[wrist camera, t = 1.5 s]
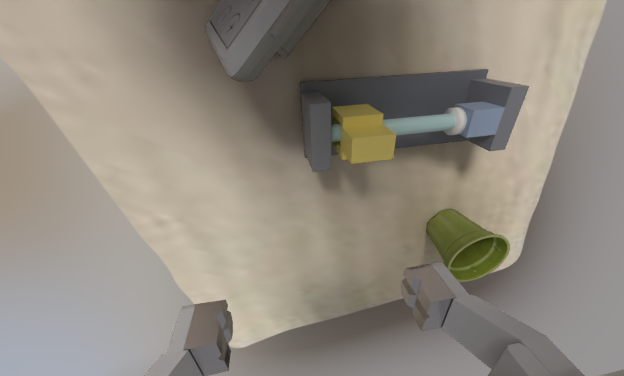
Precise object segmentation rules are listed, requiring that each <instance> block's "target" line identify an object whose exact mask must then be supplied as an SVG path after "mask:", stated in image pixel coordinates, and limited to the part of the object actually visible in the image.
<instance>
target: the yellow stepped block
mask: <svg viewBox="0 0 624 376" xmlns="http://www.w3.org/2000/svg"><path fill="white" fill-rule="evenodd" d="M383 115H384V114H383V113H381V112H380V111H378V110H376V109H375V108H373V107H372V106H370V105H368V104H360V105H348V106H336V107H332V125H333V124H341V134H340V141H337V142H332V146H333V147H334V149H335V150H336V152H337V153H338V155H339V156H340V158H341V159H342V160H349V161H350V163H351V164H355V163H364V162H372V161H381V160H390V159H393V155H394V148H395V141H396V133H394V132H393V131H391V130H390V129H389V128H387V127H386V126H384V125H383Z"/></svg>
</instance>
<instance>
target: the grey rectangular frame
mask: <svg viewBox="0 0 624 376" xmlns="http://www.w3.org/2000/svg"><path fill="white" fill-rule="evenodd" d="M487 73H488V69H479V70H465V71H451V72H437V73H423V74H409V75H396V76H382V77H368V78H354V79H340V80H326V81H312V82H300V90H301V106H302V122H303V138H304V154H305V158H308V160H309V163H310V166H311V168H312V171H313V172H316V171H324V170H331V155H338V153H337V152H336V150H335V149H334V147H333V146H332V142H337V141H340V134H341V124H333V125H332V107H336V106H348V105H360V104H368V105H370V106H372V107H373V108H375V109H376V110H378V111H380V112H381V113H383V114H384V115H383V125H384V126H386V127H387V128H389V129H390V130H391V131H393V132H394V133H396V141H395V148H402V147H411V146H420V145H429V144H438V143H447V142H457V141H466V140H468V141H470V142H472V143H474V144H476V145H478V146H480V147H482V148H484V149H486V150H488V151H495V150H504V149H505V147H506V145H507V142H508V140H509V137H510V134H511V132H512V129H513V127H514V124H515V122H516V119H517V116H518V114H519V111H520V109H521V106H522V103H523V101H524V98H525V96H526V93H527V90H528V88H529V86H526V85H520V84H514V83H509V82H503V81H497V80H491V79H486V76H487Z"/></svg>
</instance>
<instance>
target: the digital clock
mask: <svg viewBox="0 0 624 376" xmlns="http://www.w3.org/2000/svg"><path fill="white" fill-rule="evenodd" d="M329 2H330V0H221V1H220V3H219V4H218V6H217V7H216V9H215V11H214V12H213V14H212V15H211V17H210V18H209V20H208V22H207V24H206V32H207V35H208V38H209V40H210V43H211V45H212V47H213V48H214V50H215V52H216V54H217V56H218V58H219V60H220V62H221V64H222V66H223V68H224V70H225V72H226V73H227V75H228V76H229V77H231V78H232V79H234V80H236V81H239V82H247V81H252V80H254V79H255V78H256V77H257V76H258V75H259V74H260V72H261V71H262V70H263V69H264V67H265V66H266V65H267V63H268V62H269V61H270V60H271V58H272V57H273V56H274V54H275V53H276V52H277V53H278V54H279V55H280V56H281V57H282V58H283V59H285V58H286V57H287V56H288V54H289V53H290V52H291V50H292V49H293V48H294V46H295V45H296V44H297V43H298V41H299V40H300V39H301V37H302V36H303V35H304V34H305V32H306V31H307V30H308V28H309V27H310V26H311V25H312V23H313V22H314V21H315V20H316V18H317V17H318V16H319V14H320V13H321V12H322V11H323V9H324V8H325V7H326V5H327V4H328V3H329Z"/></svg>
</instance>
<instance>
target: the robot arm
mask: <svg viewBox="0 0 624 376" xmlns="http://www.w3.org/2000/svg"><path fill="white" fill-rule="evenodd" d="M403 275H404V276H405V279H404V280H403V281H402V283H401V291H402V295H403V298H404V300H405V302H406V304H407V305H408V306H410V307H411V308H412V309H413V317H414V318H415V320H416V322H417V324H418V326H419V327H420V329H421V331H424V330H429V329H435V328H441V327H442V329H443V330H444V331H445V332H447V333H448V334H449V335H450V336H451V337H453V338H454V339H455V340H456V341H457V342H459V343H460V344H461V345H463V346H464V347H465V348H466V349H467V350H469V351H470V352H471V353H472V354H474V355H475V356H476V357H477V358H478V359H480V360H481V361H482V362H483V363H484V364H486V365H487V366H488V367H490V368H491V369H492V370H491V372H490V373H489V375H488V376H584V375H583V374H582V373H581V372H580V371H579V369H577V367H576V366H575V365H574V364H573V363H572V362H571V361H570V360H569V359H568V358H567V357H566V356H565V355H564V354H563V353H562V352H561V351H560V350H559V349H558V348H557V347H556V346H555V345H554V344H553V342H552V341H551V340H550V339H549V338H548V337H547V336H546V335H544V334H542V333H540V332H538V331H537V330H535V329H533V328H531V327H529V326H528V325H526V324H524V323H522V322H521V321H519V320H517V319H515V318H513V317H512V316H510V315H508V314H506V313H505V312H503V311H501V310H499V309H497V308H496V307H494V306H492V305H490V304H488V303H487V302H485V301H483V300H481V299H480V298H478V297H476V296H474V295H469V294H468V293H467V292H466V291H465V289H464V288H463V287H462V286H461V284H460V283H459V282H458V281H457V279H456V278H455V277H454V276H453V275H452V273H451V272H450V271H449V270H448V269H447V267H446V266H445V265H444V264H443V263H441V262H438V263H433V264H425V265H420V266H415V267H409V268H406V269H405V270H404V274H403ZM227 308H228V304H227V302H226V300H220V301H214V302H207V303H200V304H194V305H188V306H183V307H182V309H181V310H180V312H179V315H178V319H177V321H176V325H175V328H174V331H173V335H172V338H171V341H170V344H169V347H168V350H167V353H166V354H164V355H161V356H160V358H159V359H158V360H157V361H156V362H155V363H154V365H153V366H152V367H151V368H150V369H149V370H148V371H147V373H146V374H145V375H144V376H208V375H212V374H217V373H221V372H225V371H229V362H230V353H231V350H230V348H229V345H228V343H229V342H230V340H231V339H232V334H233V321H232V316H231V312H229V311H227ZM600 376H624V370H620V371H616V372H612V373H608V374H604V375H600Z"/></svg>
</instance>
